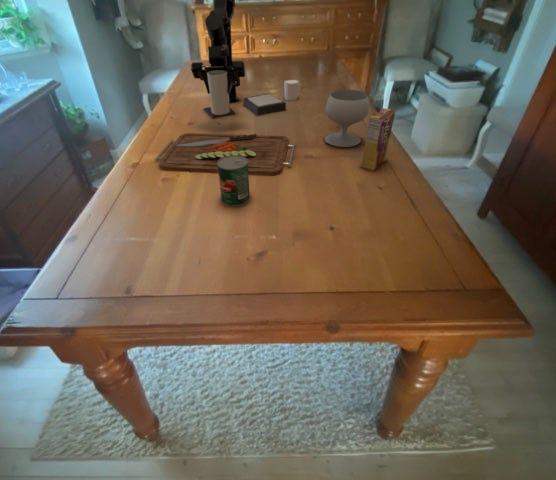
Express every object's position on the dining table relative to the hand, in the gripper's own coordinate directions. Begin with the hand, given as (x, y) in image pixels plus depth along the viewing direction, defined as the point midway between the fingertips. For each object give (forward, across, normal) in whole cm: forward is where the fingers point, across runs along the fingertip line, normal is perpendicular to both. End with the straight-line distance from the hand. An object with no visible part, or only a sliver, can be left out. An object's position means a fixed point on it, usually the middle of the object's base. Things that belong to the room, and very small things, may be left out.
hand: (218, 93), depth 123 cm
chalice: (+18, +44, +1) cm, 47 cm away
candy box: (+30, +51, -11) cm, 60 cm away
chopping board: (+24, +4, -5) cm, 25 cm away
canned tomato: (+44, +9, -25) cm, 52 cm away
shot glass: (-16, +28, +36) cm, 48 cm away
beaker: (+4, 0, +6) cm, 7 cm away
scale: (-8, +16, +27) cm, 32 cm away
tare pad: (-5, -4, +24) cm, 25 cm away
